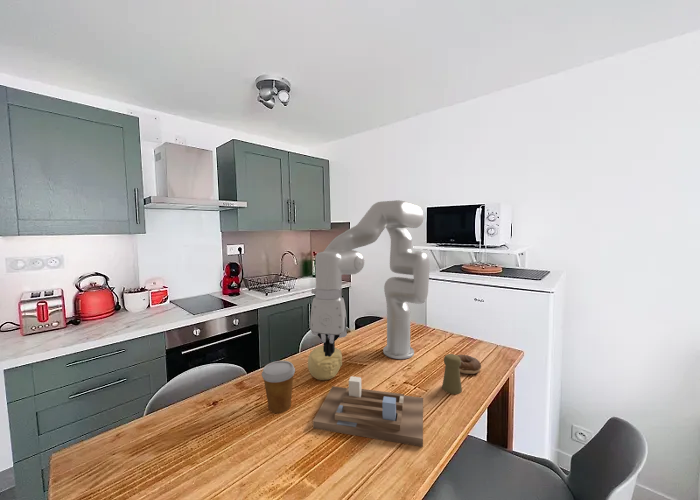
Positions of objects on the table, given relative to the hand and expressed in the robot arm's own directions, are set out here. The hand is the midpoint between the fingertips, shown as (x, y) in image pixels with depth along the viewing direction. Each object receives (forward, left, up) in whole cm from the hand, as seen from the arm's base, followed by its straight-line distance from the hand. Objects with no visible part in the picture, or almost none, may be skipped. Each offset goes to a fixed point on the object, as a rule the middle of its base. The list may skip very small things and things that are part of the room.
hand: (329, 354), depth 87 cm
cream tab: (0, +8, -13) cm, 15 cm away
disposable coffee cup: (+6, -14, -15) cm, 21 cm away
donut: (-30, +42, -15) cm, 54 cm away
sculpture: (-14, -7, -15) cm, 22 cm away
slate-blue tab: (+8, +19, -13) cm, 24 cm away
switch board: (+4, +13, -15) cm, 20 cm away
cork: (-15, +36, -15) cm, 42 cm away
